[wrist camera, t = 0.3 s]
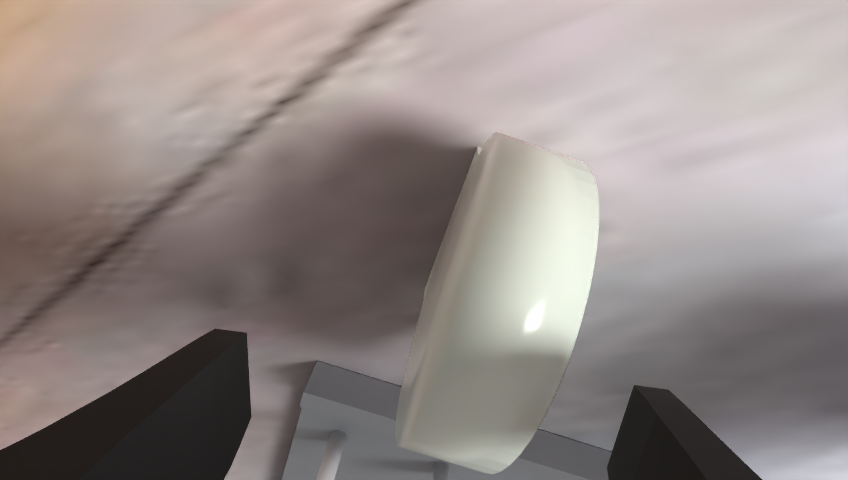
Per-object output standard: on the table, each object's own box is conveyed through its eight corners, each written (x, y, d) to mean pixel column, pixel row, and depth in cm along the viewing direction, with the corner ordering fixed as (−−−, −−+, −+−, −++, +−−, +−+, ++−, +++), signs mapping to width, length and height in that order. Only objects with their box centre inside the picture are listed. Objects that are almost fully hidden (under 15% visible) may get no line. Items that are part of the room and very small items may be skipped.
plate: (559, 127, 17) (643, 237, 9) (469, 336, 21) (468, 553, 13) (493, 104, 17) (514, 193, 9) (413, 318, 21) (375, 526, 13)
